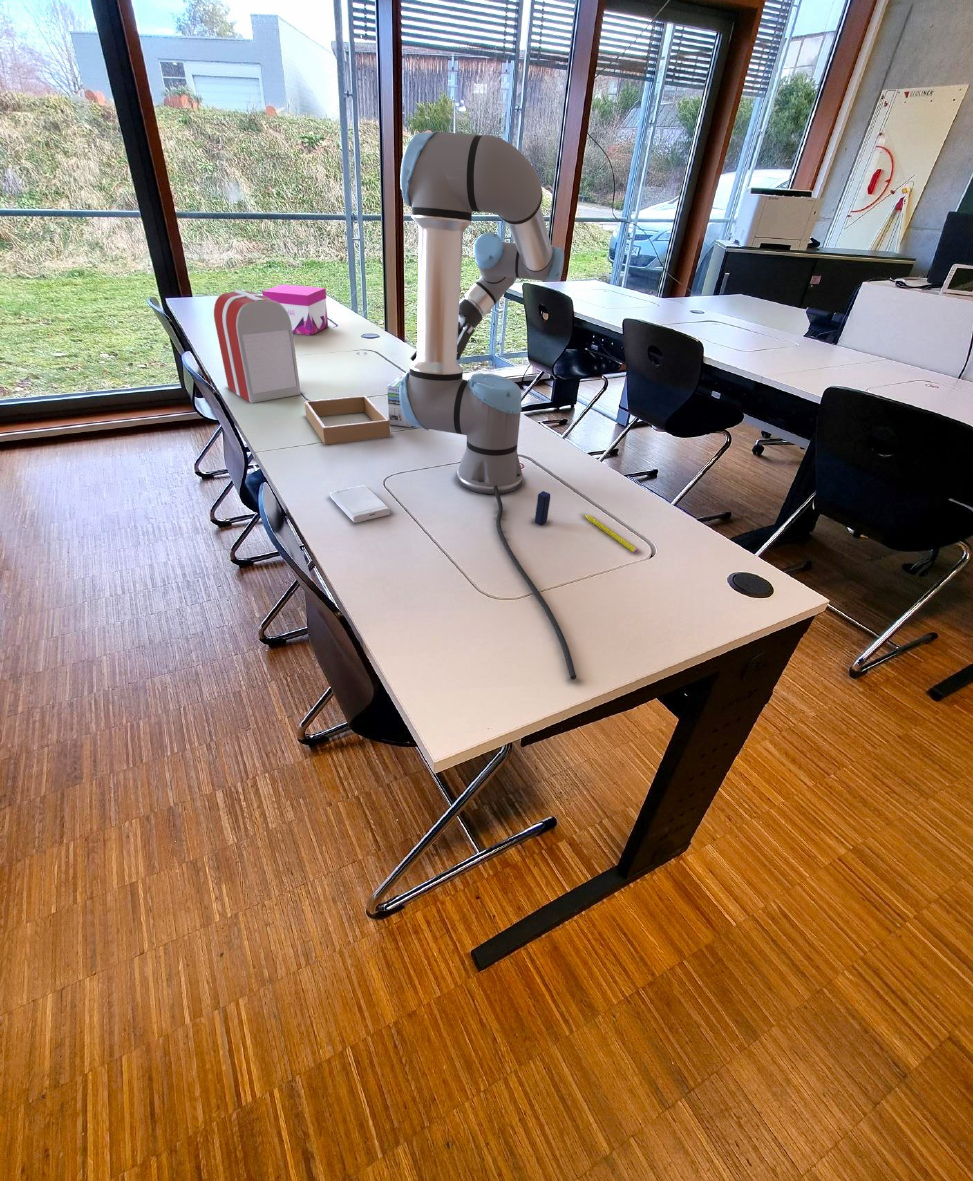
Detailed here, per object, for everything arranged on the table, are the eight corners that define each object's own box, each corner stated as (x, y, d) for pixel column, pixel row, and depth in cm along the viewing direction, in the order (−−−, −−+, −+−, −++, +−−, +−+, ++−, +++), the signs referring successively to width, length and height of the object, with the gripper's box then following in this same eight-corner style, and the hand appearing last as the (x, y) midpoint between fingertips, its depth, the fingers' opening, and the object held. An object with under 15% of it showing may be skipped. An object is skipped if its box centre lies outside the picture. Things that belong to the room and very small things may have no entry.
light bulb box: (411, 427, 162) (410, 388, 156) (387, 424, 163) (386, 385, 157) (421, 415, 171) (421, 378, 165) (400, 412, 172) (398, 375, 165)
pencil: (637, 552, 115) (638, 548, 114) (633, 554, 115) (634, 549, 114) (585, 515, 126) (586, 511, 126) (582, 516, 126) (583, 512, 125)
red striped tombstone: (250, 403, 171) (231, 302, 155) (226, 387, 181) (206, 291, 166) (302, 394, 180) (289, 298, 165) (276, 379, 191) (262, 287, 175)
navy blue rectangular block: (539, 519, 124) (543, 489, 120) (547, 522, 123) (551, 493, 119) (533, 522, 122) (536, 493, 118) (541, 526, 121) (545, 496, 117)
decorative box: (268, 331, 242) (262, 291, 233) (288, 322, 258) (283, 284, 249) (311, 335, 240) (307, 295, 232) (329, 326, 256) (325, 288, 247)
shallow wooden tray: (390, 436, 156) (389, 420, 154) (324, 445, 149) (322, 428, 147) (366, 410, 172) (365, 395, 169) (306, 417, 165) (304, 401, 162)
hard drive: (329, 491, 125) (353, 516, 117) (365, 484, 129) (390, 507, 121) (330, 498, 126) (353, 523, 118) (365, 491, 130) (390, 514, 122)
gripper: (503, 327, 152) (449, 390, 155) (463, 308, 169) (415, 365, 172) (486, 306, 147) (430, 371, 149) (446, 288, 164) (397, 347, 167)
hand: (422, 368), depth 161 cm, fingers open, 13 cm apart
